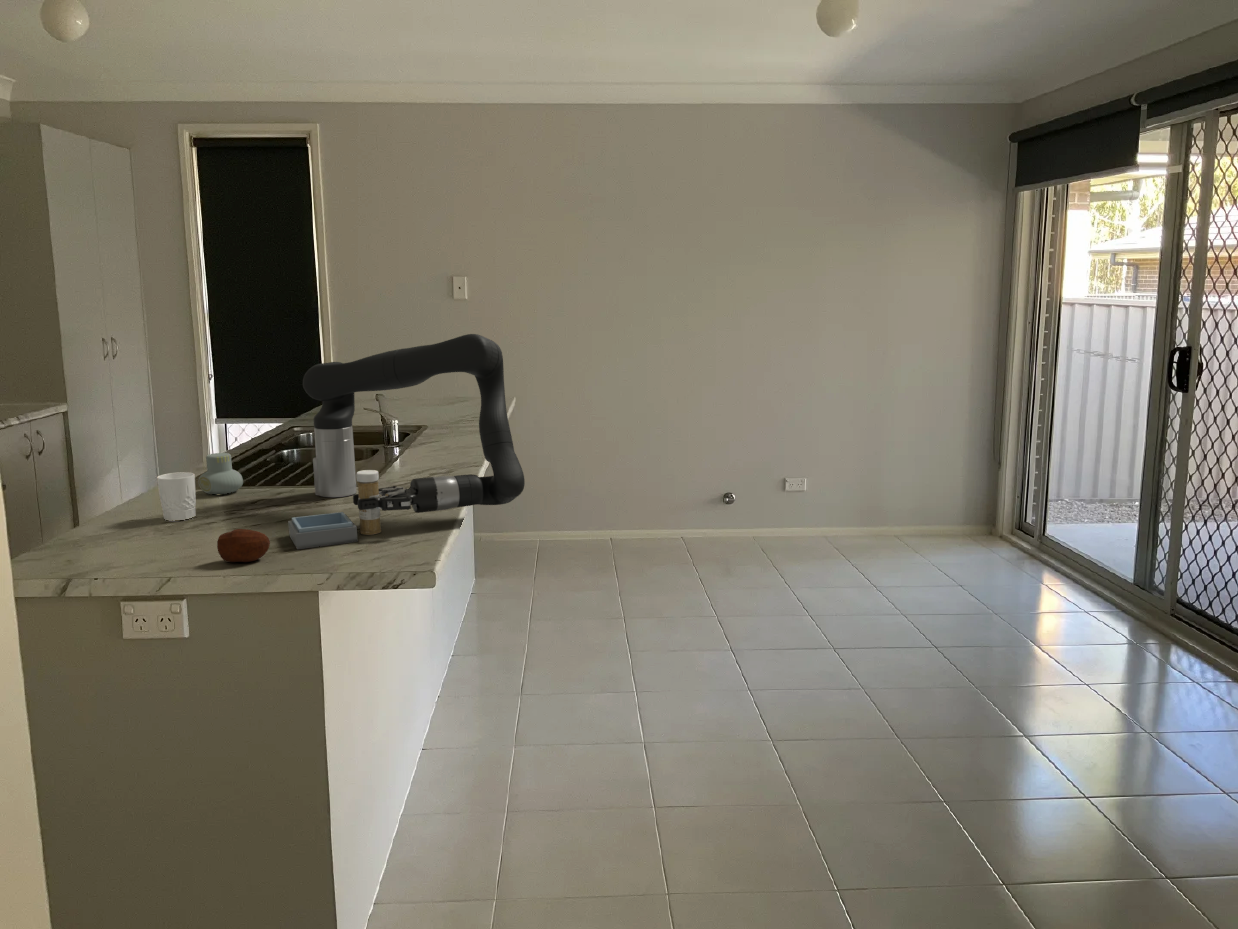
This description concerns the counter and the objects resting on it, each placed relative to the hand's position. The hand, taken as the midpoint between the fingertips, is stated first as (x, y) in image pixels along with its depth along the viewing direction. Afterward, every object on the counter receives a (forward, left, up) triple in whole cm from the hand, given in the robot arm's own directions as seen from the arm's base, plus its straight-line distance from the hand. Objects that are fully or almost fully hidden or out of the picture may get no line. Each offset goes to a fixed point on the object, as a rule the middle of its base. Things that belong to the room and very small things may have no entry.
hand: (356, 502), depth 205 cm
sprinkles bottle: (+2, +2, -7) cm, 8 cm away
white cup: (-48, +5, -7) cm, 49 cm away
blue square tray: (-6, -5, -7) cm, 10 cm away
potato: (-12, -22, -7) cm, 26 cm away
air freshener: (-55, +30, -7) cm, 64 cm away
